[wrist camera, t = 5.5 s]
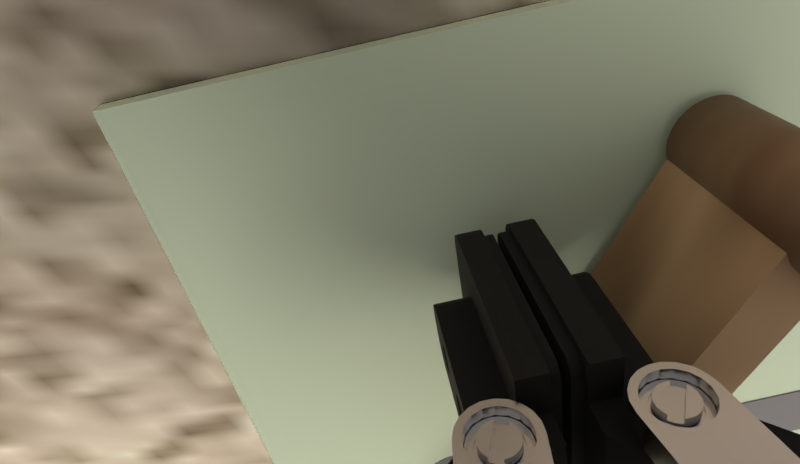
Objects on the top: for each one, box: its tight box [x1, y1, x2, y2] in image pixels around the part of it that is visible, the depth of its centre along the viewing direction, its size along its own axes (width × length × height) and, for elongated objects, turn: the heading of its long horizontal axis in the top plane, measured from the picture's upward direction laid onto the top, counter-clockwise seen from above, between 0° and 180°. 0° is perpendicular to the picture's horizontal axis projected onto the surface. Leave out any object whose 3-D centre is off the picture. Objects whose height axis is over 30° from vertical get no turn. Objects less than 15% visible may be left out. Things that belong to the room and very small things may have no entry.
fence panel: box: [590, 95, 800, 394], centre depth 11 cm, size 14×2×6 cm, turn 159°
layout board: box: [92, 0, 800, 464], centre depth 17 cm, size 26×17×1 cm, turn 11°
